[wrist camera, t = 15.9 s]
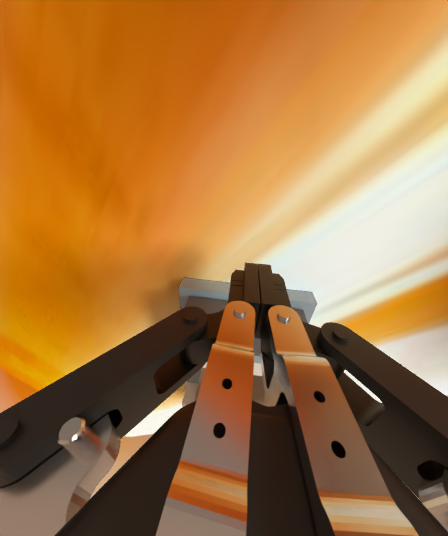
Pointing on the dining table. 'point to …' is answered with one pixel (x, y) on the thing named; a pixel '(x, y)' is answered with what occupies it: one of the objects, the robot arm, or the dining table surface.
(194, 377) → the vise
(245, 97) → the dining table surface
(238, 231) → the dining table surface
